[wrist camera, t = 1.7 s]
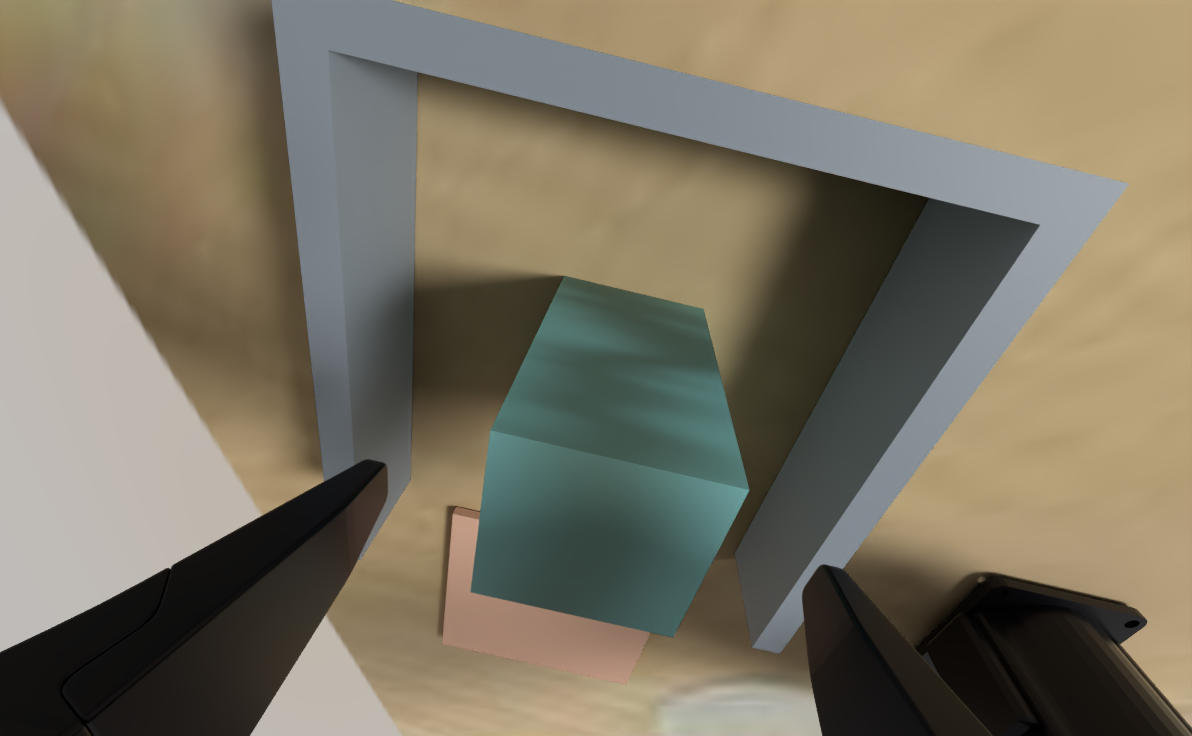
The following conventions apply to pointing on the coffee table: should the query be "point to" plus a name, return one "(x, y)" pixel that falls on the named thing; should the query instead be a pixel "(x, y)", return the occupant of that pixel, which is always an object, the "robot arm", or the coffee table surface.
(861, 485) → the open-front gray frame
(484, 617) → the terracotta mat
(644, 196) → the coffee table surface
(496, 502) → the teal block
